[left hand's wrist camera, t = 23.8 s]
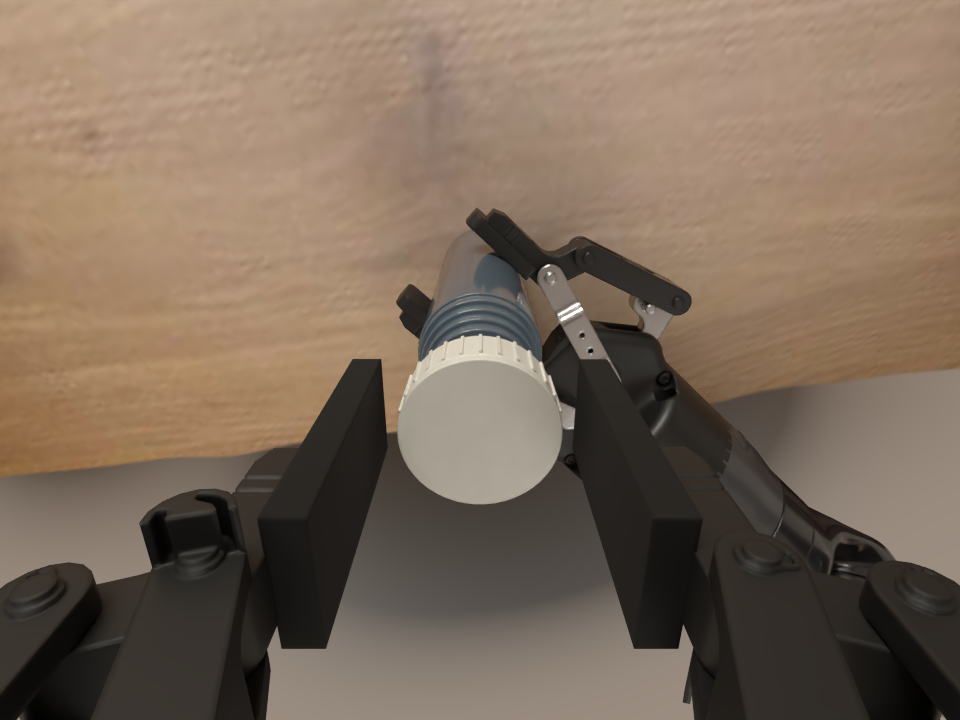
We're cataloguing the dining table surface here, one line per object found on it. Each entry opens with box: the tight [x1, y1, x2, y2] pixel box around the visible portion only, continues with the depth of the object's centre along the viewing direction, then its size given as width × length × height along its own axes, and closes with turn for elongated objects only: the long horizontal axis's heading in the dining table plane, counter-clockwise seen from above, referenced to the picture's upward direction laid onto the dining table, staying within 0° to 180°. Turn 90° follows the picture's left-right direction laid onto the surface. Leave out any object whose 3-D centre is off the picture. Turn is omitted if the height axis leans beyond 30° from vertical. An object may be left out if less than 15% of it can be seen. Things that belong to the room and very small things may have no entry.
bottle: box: [418, 231, 542, 362], centre depth 23 cm, size 4×4×19 cm
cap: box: [397, 334, 563, 504], centre depth 14 cm, size 4×4×2 cm
